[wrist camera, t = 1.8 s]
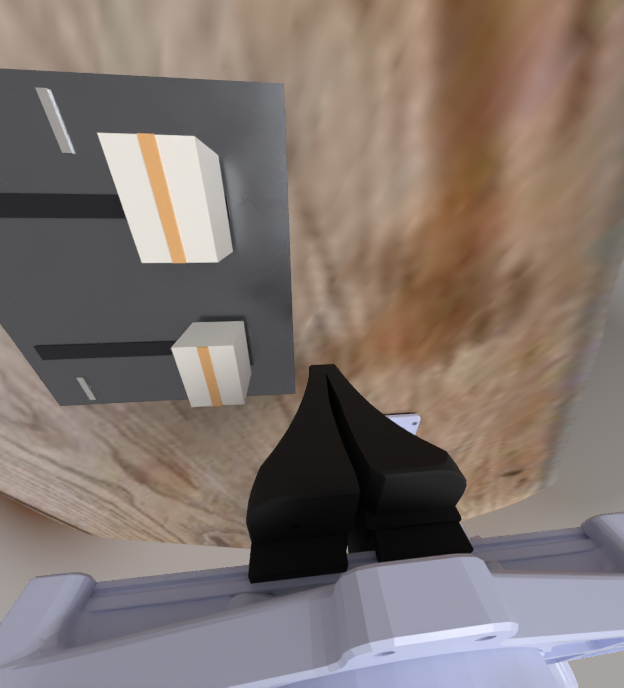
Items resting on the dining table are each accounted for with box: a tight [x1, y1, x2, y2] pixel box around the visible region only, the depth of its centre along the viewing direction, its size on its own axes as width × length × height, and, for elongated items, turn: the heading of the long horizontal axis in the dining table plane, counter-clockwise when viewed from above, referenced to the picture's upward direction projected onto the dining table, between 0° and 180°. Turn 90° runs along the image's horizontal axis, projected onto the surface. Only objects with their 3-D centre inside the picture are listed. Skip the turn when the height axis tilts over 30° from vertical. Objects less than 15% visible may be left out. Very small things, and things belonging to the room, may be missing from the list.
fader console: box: [0, 69, 295, 406], centre depth 14 cm, size 17×17×2 cm
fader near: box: [97, 133, 233, 263], centre depth 10 cm, size 4×3×3 cm
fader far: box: [171, 321, 251, 407], centre depth 14 cm, size 4×3×3 cm
